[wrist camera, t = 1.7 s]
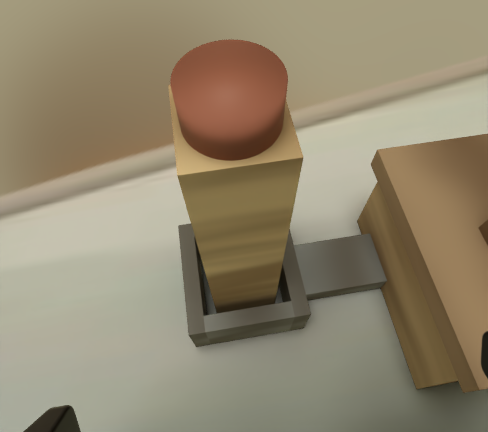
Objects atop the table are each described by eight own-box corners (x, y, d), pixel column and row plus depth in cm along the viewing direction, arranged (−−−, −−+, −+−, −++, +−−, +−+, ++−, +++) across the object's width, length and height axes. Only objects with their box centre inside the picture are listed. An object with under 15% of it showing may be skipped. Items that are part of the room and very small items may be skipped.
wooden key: (273, 308, 22) (311, 118, 9) (218, 317, 22) (166, 138, 8) (263, 257, 24) (280, 28, 10) (211, 265, 23) (158, 42, 10)
